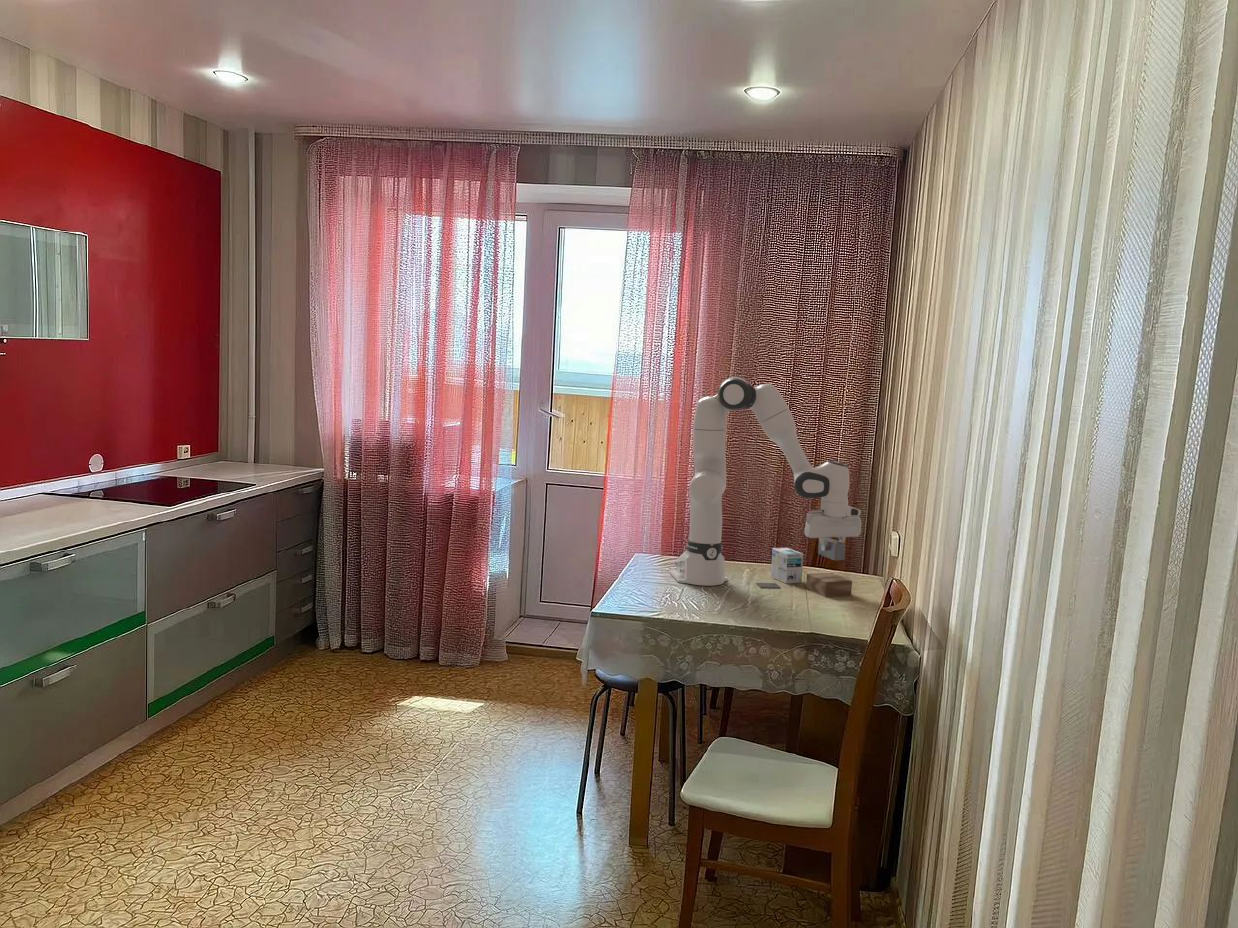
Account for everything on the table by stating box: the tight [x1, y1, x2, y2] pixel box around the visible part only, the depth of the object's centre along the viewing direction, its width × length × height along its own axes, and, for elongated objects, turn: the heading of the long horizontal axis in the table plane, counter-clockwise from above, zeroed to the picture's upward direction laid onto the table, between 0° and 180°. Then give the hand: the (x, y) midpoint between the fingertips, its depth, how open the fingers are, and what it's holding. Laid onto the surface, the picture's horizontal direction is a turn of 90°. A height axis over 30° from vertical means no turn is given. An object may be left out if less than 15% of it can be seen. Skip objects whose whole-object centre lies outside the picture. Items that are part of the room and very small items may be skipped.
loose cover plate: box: [755, 582, 781, 589], centre depth 319 cm, size 6×7×1 cm
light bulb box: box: [770, 547, 804, 584], centre depth 329 cm, size 11×7×11 cm, turn 22°
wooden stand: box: [805, 572, 853, 598], centre depth 315 cm, size 12×10×5 cm
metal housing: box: [817, 537, 847, 561], centre depth 313 cm, size 4×10×6 cm, turn 20°
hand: (831, 550), depth 313 cm, fingers closed on metal housing, 4 cm apart
